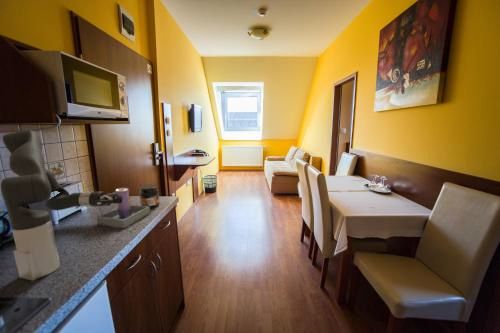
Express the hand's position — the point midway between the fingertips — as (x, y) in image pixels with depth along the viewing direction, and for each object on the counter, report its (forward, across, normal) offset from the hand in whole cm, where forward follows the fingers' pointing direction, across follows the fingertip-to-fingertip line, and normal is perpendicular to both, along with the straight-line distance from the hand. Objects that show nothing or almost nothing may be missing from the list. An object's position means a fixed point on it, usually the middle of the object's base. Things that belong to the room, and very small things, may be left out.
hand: (125, 197), depth 113 cm
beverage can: (-2, 0, +11) cm, 11 cm away
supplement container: (+5, +18, +12) cm, 22 cm away
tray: (-1, 0, +12) cm, 12 cm away
